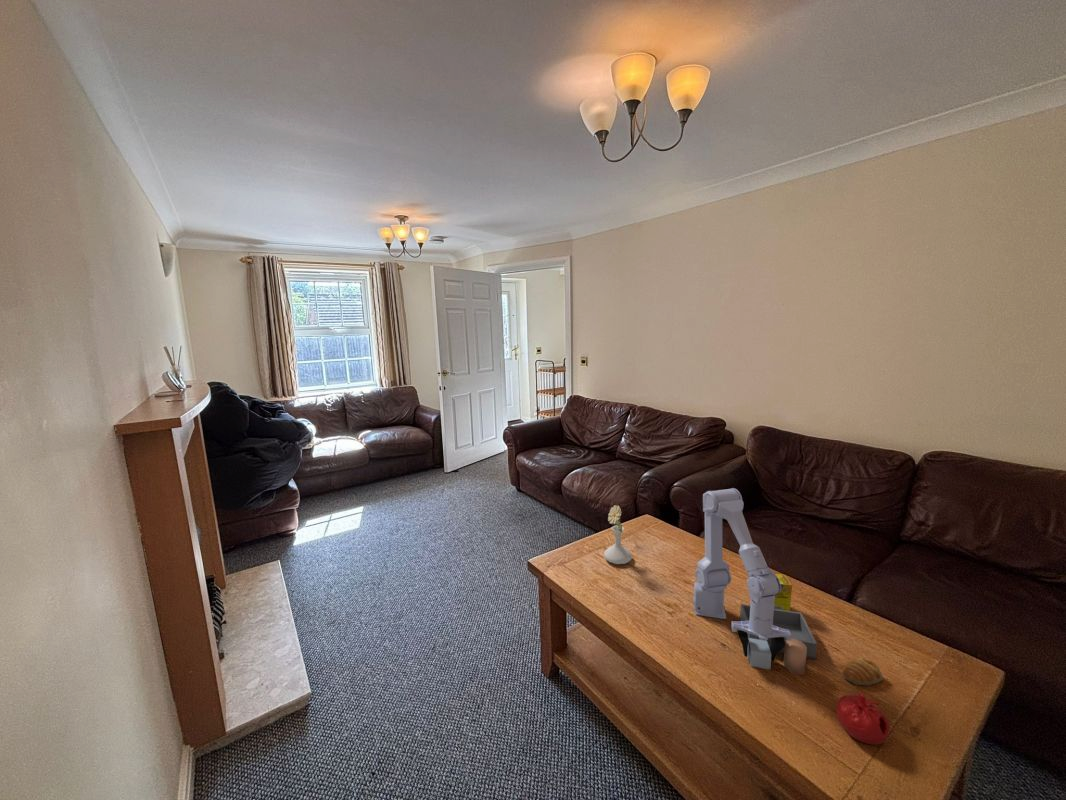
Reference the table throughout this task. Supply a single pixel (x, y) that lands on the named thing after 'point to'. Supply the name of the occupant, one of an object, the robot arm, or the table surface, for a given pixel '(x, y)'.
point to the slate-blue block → (759, 653)
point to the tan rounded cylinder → (795, 656)
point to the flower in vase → (617, 540)
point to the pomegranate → (862, 719)
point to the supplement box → (783, 594)
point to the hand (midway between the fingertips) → (758, 656)
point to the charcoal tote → (789, 622)
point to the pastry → (862, 672)
